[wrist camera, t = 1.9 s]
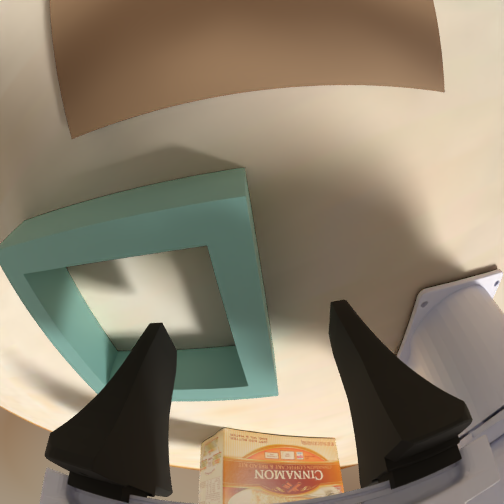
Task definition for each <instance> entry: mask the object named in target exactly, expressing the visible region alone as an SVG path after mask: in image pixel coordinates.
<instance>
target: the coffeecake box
mask: <svg viewBox="0 0 504 504" xmlns="http://www.w3.org/2000/svg"><path fill="white" fill-rule="evenodd" d="M335 440H336V439H335V438H304V437H289V436H279V435H270V434H261V433H254V432H247V431H241V430H235V429H229V428H223V429H221V430H220V431H219V432H217V433H216V434H215V435H214V436H212V437H211V438H209V439H207V440H206V441H204V442H203V443H202V445H201V459H200V480H199V504H272V503H283V502H292V501H300V500H307V499H314V498H320V497H325V496H330V495H335V494H340V493H344V489H343V482H342V477H341V471H340V464H339V459H338V453H337V447H336V442H335Z"/></svg>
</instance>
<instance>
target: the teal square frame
mask: <svg viewBox="0 0 504 504" xmlns="http://www.w3.org/2000/svg"><path fill="white" fill-rule="evenodd" d="M200 246H207V247H208V251H209V255H210V258H211V262H212V266H213V269H214V273H215V277H216V280H217V284H218V287H219V291H220V294H221V298H222V301H223V305H224V308H225V312H226V315H227V318H228V322H229V325H230V328H231V332H232V335H233V338H234V342H235V345H236V346H225V347H213V348H200V349H183V350H177V367H176V376H175V383H174V389H173V395H172V401H219V400H237V399H250V398H261V397H270V396H278V386H277V376H276V366H275V357H274V350H273V343H272V337H271V330H270V323H269V317H268V310H267V304H266V297H265V291H264V285H263V278H262V272H261V265H260V259H259V253H258V246H257V240H256V234H255V227H254V221H253V215H252V209H251V202H250V196H249V190H248V184H247V178H246V171H245V167H244V168H237V169H231V170H225V171H219V172H213V173H207V174H202V175H196V176H191V177H186V178H181V179H176V180H171V181H166V182H161V183H157V184H152V185H148V186H143V187H139V188H135V189H131V190H127V191H122V192H118V193H115V194H111V195H107V196H103V197H99V198H96V199H92V200H88V201H85V202H81V203H78V204H75V205H71V206H68V207H65V208H61V209H58V210H55V211H52V212H49V213H46V214H43V215H40V216H37V217H34V218H31V219H28V220H25V221H24V222H22V223H21V224H20V225H19V226H18V227H17V228H16V229H15V230H14V231H13V232H12V233H11V234H10V235H9V236H8V237H7V238H6V239H5V240H4V241H3V242H2V243H1V244H0V266H1V267H2V269H3V271H4V273H5V274H6V276H7V278H8V280H9V281H10V283H11V285H12V286H13V288H14V290H15V291H16V293H17V294H18V296H19V298H20V299H21V301H22V302H23V304H24V305H25V307H26V308H27V310H28V311H29V313H30V314H31V316H32V317H33V318H34V320H35V321H36V323H37V324H38V325H39V327H40V328H41V329H42V331H43V332H44V333H45V335H46V336H47V337H48V339H49V340H50V341H51V342H52V344H53V345H54V346H55V347H56V349H57V350H58V351H59V352H60V354H61V355H62V356H63V357H64V358H65V359H66V361H67V362H68V363H69V364H70V365H71V366H72V368H73V369H74V370H75V371H76V372H77V373H78V374H79V375H80V376H81V377H82V379H83V380H84V381H85V382H86V383H87V384H88V385H89V386H90V387H91V388H92V389H93V390H94V391H95V392H96V393H97V394H98V393H99V392H100V391H101V390H102V389H103V388H104V387H105V386H106V384H107V383H108V382H109V381H110V380H111V378H112V377H113V376H114V374H115V373H116V372H117V370H118V369H119V368H120V366H121V365H122V364H123V362H124V361H125V359H126V358H127V356H128V355H129V354H130V352H131V351H117V349H116V348H115V347H114V345H113V344H112V342H111V341H110V339H109V338H108V337H107V335H106V334H105V332H104V331H103V329H102V328H101V326H100V325H99V323H98V321H97V320H96V318H95V317H94V315H93V314H92V312H91V310H90V309H89V307H88V305H87V304H86V302H85V300H84V299H83V297H82V295H81V294H80V292H79V290H78V288H77V287H76V285H75V283H74V281H73V280H72V278H71V276H70V274H69V272H68V270H67V268H66V267H70V266H76V265H82V264H88V263H95V262H101V261H107V260H114V259H120V258H127V257H133V256H140V255H146V254H153V253H160V252H166V251H173V250H180V249H187V248H193V247H200Z"/></svg>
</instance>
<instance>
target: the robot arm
mask: <svg viewBox="0 0 504 504" xmlns="http://www.w3.org/2000/svg"><path fill="white" fill-rule="evenodd" d="M502 276H503V272H502V271H501V270H500V269H497V270H494V271H491V272H487V273H484V274H480V275H477V276H473V277H469V278H465V279H462V280H458V281H454V282H450V283H446V284H442V285H438V286H434V287H430V288H425V289H423V290H421V291H420V292H419V294H418V296H417V299H416V302H415V306H414V309H413V312H412V315H411V318H410V321H409V324H408V327H407V330H406V333H405V336H404V338H403V341H402V344H401V346H400V349H399V352H398V354H397V356H395V355H394V354H393V353H392V352H391V351H390V350H389V349H388V348H387V347H386V346H385V345H384V344H383V343H382V342H381V341H380V340H379V339H378V338H377V337H376V336H375V334H374V333H373V332H372V331H371V330H370V329H369V328H368V327H367V326H366V324H365V323H364V322H363V321H362V320H361V318H360V317H359V316H358V315H357V314H356V312H355V311H354V310H353V308H352V307H351V306H350V305H349V303H348V302H347V301H346V300H340V301H334V302H331V307H330V323H329V337H330V342H331V347H332V351H333V355H334V358H335V361H336V364H337V367H338V370H339V373H340V376H341V379H342V382H343V385H344V389H345V392H346V395H347V398H348V402H349V406H350V411H351V416H352V422H353V428H354V434H355V440H356V448H357V456H358V465H359V476H360V477H359V478H360V485H361V489H357V490H353V491H349V492H344V493H340V494H335V495H330V496H325V497H320V498H314V499H307V500H300V501H292V502H283V503H272V504H360V503H361V504H504V313H503V312H502V311H501V309H500V308H499V306H498V305H497V304H496V302H495V301H494V300H493V297H494V295H495V293H496V291H497V288H498V286H499V283H500V281H501V279H502ZM176 367H177V350H176V348H175V346H174V344H173V342H172V340H171V339H170V337H169V335H168V333H167V331H166V329H165V327H164V325H163V323H150V324H149V325H148V327H147V328H146V330H145V331H144V333H143V334H142V336H141V337H140V339H139V340H138V342H137V343H136V345H135V346H134V348H133V349H132V351H131V352H130V354H129V355H128V356H127V358H126V359H125V361H124V362H123V364H122V365H121V366H120V368H119V369H118V370H117V372H116V373H115V374H114V376H113V377H112V378H111V380H110V381H109V382H108V383H107V384H106V386H105V387H104V388H103V389H102V390H101V391H100V392H99V393H98V395H97V396H96V397H95V398H94V399H93V400H92V401H91V402H89V403H88V404H87V405H86V406H85V407H84V408H83V409H82V410H81V411H80V412H79V413H78V414H76V415H75V416H74V417H73V418H71V419H70V420H69V421H68V422H66V423H65V424H63V425H62V426H60V427H59V428H57V429H56V430H55V431H53V432H51V433H50V436H49V440H48V443H47V447H46V451H45V457H46V458H47V459H48V460H50V461H52V462H53V463H55V464H57V465H58V466H60V467H62V468H64V469H66V470H68V471H70V473H69V476H68V475H66V474H63V473H61V472H58V471H55V470H53V469H50V468H46V472H45V477H44V482H43V487H42V493H41V499H40V504H191V503H181V502H172V501H165V500H157V499H151V498H147V496H151V497H154V496H155V495H156V496H163V497H168V496H169V495H171V494H172V485H171V477H170V467H169V448H168V430H169V414H170V407H171V401H172V395H173V389H174V383H175V376H176Z"/></svg>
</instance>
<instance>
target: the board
mask: <svg viewBox="0 0 504 504" xmlns="http://www.w3.org/2000/svg"><path fill="white" fill-rule="evenodd" d="M50 17H51V29H52V39H53V48H54V55H55V62H56V69H57V75H58V80H59V86H60V91H61V96H62V100H63V105H64V110H65V114H66V118H67V122H68V126H69V130H70V134H71V138H72V139H74V138H76V137H79V136H81V135H84V134H86V133H89V132H91V131H94V130H97V129H99V128H102V127H105V126H108V125H111V124H114V123H117V122H120V121H123V120H126V119H129V118H132V117H135V116H139V115H142V114H145V113H149V112H152V111H156V110H160V109H164V108H168V107H172V106H176V105H180V104H184V103H188V102H193V101H198V100H203V99H208V98H213V97H218V96H224V95H230V94H236V93H243V92H250V91H257V90H266V89H275V88H286V87H299V86H317V85H376V86H394V87H406V88H416V89H425V90H433V91H440V92H444V74H443V62H442V52H441V44H440V36H439V29H438V23H437V18H436V12H435V7H434V3H433V0H50Z"/></svg>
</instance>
